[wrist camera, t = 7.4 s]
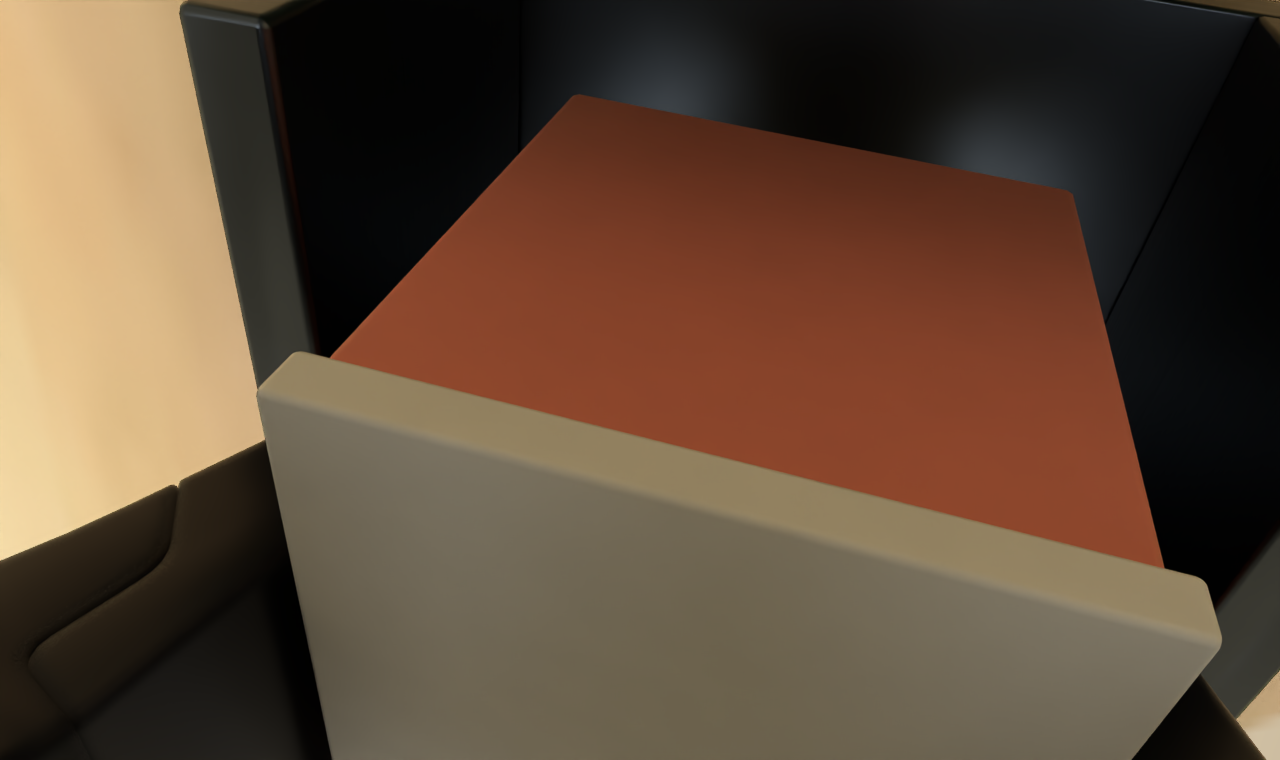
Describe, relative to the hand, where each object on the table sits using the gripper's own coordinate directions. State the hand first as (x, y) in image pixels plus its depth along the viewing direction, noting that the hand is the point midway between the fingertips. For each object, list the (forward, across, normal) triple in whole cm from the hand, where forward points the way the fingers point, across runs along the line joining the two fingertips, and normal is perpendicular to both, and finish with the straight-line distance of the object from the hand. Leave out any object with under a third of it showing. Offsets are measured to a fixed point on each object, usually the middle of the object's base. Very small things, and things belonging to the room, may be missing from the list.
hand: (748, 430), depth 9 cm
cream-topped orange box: (+1, 0, 0) cm, 1 cm away
